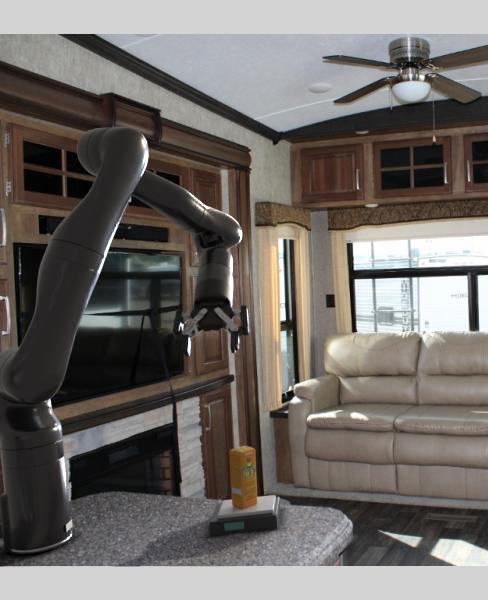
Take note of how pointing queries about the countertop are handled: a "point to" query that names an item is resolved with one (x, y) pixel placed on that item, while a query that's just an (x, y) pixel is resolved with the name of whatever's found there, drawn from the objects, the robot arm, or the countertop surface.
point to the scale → (245, 516)
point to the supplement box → (243, 477)
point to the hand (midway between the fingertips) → (210, 352)
